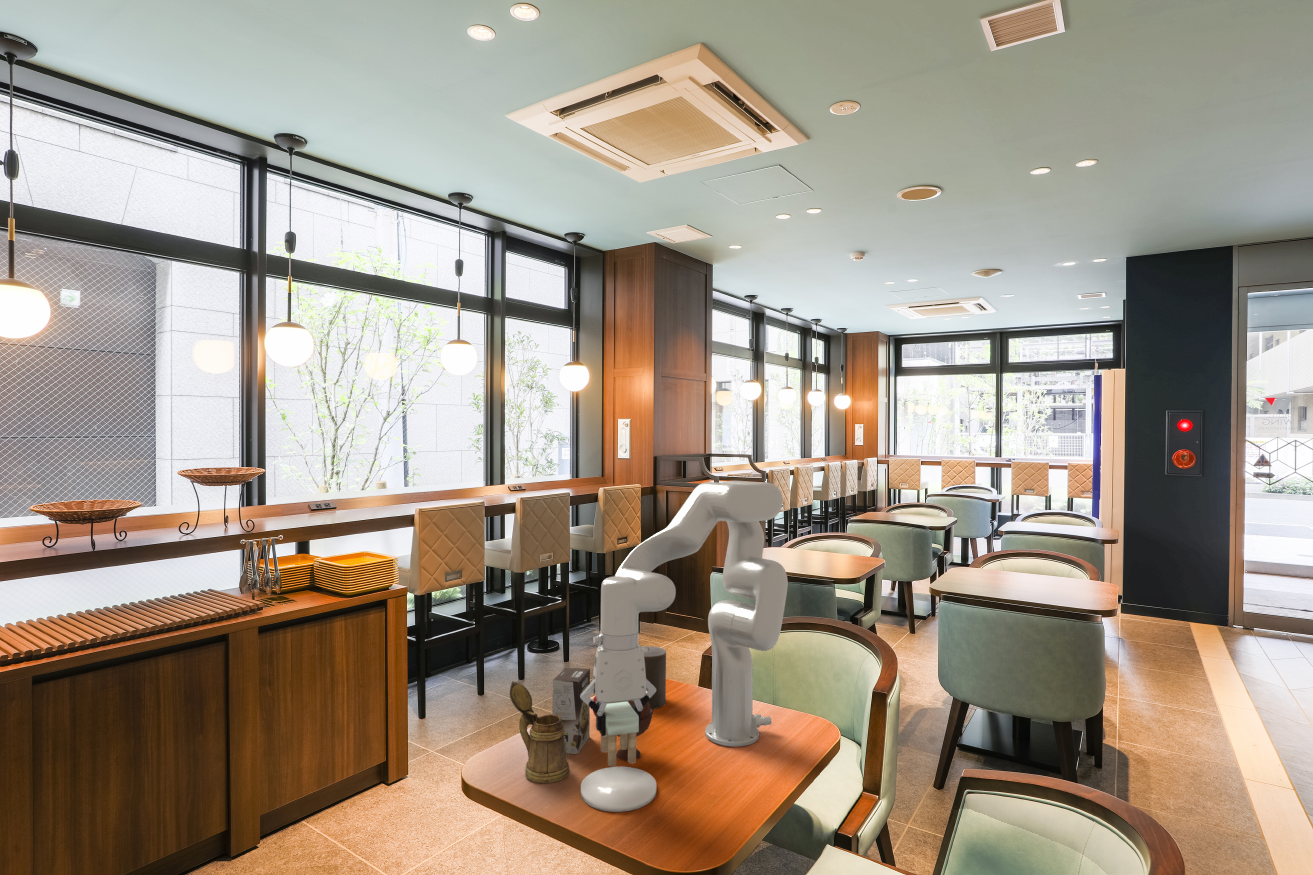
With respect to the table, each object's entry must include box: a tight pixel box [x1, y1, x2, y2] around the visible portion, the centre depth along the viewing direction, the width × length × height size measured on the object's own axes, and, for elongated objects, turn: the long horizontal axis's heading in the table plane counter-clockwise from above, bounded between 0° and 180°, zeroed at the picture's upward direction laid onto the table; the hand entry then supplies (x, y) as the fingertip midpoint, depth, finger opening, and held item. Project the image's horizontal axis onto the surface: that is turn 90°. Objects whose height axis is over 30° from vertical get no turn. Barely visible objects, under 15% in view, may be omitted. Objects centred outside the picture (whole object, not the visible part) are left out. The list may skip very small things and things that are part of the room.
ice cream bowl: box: [612, 700, 654, 762], centre depth 149 cm, size 11×11×15 cm
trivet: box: [580, 766, 657, 813], centre depth 133 cm, size 15×15×1 cm
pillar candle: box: [641, 645, 667, 710], centre depth 178 cm, size 10×10×15 cm
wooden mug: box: [509, 680, 570, 784], centre depth 141 cm, size 9×14×18 cm, turn 68°
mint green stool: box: [600, 701, 639, 767], centre depth 133 cm, size 8×6×9 cm
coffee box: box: [551, 667, 591, 755], centre depth 154 cm, size 9×6×16 cm
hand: (618, 730), depth 133 cm, fingers closed on mint green stool, 6 cm apart
